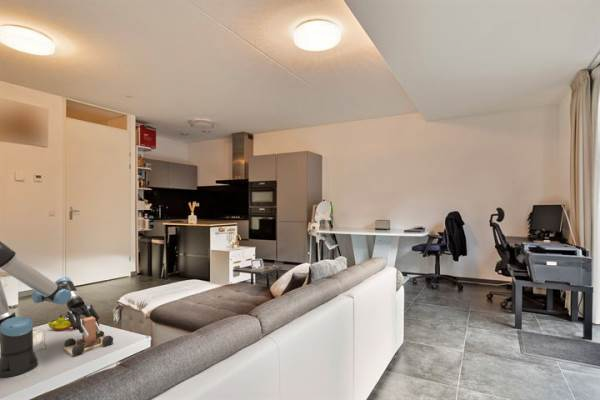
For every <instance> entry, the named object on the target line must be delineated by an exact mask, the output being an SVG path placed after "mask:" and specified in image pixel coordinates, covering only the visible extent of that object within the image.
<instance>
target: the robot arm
mask: <svg viewBox="0 0 600 400" xmlns="http://www.w3.org/2000/svg"><path fill="white" fill-rule="evenodd" d="M0 269H1V271H4V272H5V273H7V274H8V275H10V276H11V277H13V278H14V279H16V280H18V281H19V282H20V283H22V284H24V285H26V286H27V287H28V288H30V289H32V292H31V300H32V301H33V302H34V303H35V304H39V303H43V302H48V303H52V304H56V305H64V304H65V305H66V307H67V309H68V310H69V311H67V312H66V314H65V318H67V319H69V321H70V323H71V326H72V327H71V328H72V329H73V330H74V329H75V330H77V331H78V332H79V333H80V334H81V335H82V334H83V336H84V337H85V338H87V337H88V335H89V334H88V333H87V331H86V329H85V327H84V326H83V325H82V319H81V316H84V317H85V318H88V317H94V318H96V332H97V333H100V331H102V329H101V328H100V323H99V320H100V316H99V315H98V313H97V312H96V310H95V309H94V307H93V304H90V305H86V304H85V301H84V299H83V298H82V296H81V294H80V293H79V291H78V290H77V288H76V286H75V284H74V283H73V281H72V279H71V278H70V277H68V276H63V277H60V278H58V279H57V280H55V282H54V281H53V280H52V279H50V278H49V277H47V276H45V275H44V274H43V273H41V272H40V271H39V270H37V269H36V268H34V267H33V266H32V265H30V264H29V263H27V262H26V261H24V260H23V259H21V258H19V257H18V256H17V253H16V251H14V250H13V249H11V248H10V247H9V246H7V245H6V244H5V243H4V242H2V241H1V240H0ZM16 315H17V314H16V312H15V310H14V309H11V308H10V306H9V302H8V300H7V296H6V293H5V290H4V286H3V283H2V280H1V279H0V378H10V377H15V376H18V375H22V374H25V373H27V372H30V371H32V370H34V369H35V368H36V367H37V366H38V364H39V359H38V356H37V355H36V353H35V351H34V324H33V320H32V318H30V317H29V316H16ZM75 320H76V321H75Z"/></svg>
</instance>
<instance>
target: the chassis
mask: <svg viewBox="0 0 600 400" xmlns="http://www.w3.org/2000/svg"><path fill="white" fill-rule="evenodd" d="M112 344H114V337H113V336H111V335H105V332H104V331H103V330H101V331H100V333H97V332H96V340H93V341H90V342H86V343H84V342H83V341H82V338H80V339H77V340H76V339H74V338H68V339H66V340H65V341H64V343H63V346H64V347H63V351H64V352H65V353H66V354H68V356H69V357H71V358H73V357H74V356H80V355H82V354H84V353H86V352H90V351H94V350H97V349H99V348H102V347H105V346H106V347H107V346H111V345H112Z"/></svg>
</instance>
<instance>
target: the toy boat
mask: <svg viewBox="0 0 600 400" xmlns="http://www.w3.org/2000/svg"><path fill="white" fill-rule="evenodd" d="M75 321H76V319H75ZM47 324H48V327H49V328H50V329H53V330H56V331H66V330H67V329H70V328H72V326H71V323H70V321H69V319H68V317H65V316H63V314H62V313H60V316H59V317H58V318H57V320H52V321H48V322H47ZM73 330H76V329H73Z"/></svg>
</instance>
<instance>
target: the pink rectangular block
mask: <svg viewBox="0 0 600 400" xmlns="http://www.w3.org/2000/svg"><path fill="white" fill-rule="evenodd" d="M82 325H83V326H84V327H85V329H86V331H87V333H88V334H89V335H88V337H87V338H85V337H84V336H83V334H82V333H81V339H82V341H83V342H84V343H86V342H90V341H93V340H96V318H94V317H88V318H87V317H85V318H81V326H82Z"/></svg>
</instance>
